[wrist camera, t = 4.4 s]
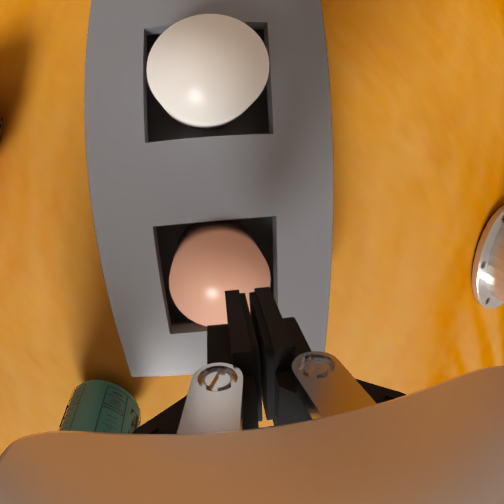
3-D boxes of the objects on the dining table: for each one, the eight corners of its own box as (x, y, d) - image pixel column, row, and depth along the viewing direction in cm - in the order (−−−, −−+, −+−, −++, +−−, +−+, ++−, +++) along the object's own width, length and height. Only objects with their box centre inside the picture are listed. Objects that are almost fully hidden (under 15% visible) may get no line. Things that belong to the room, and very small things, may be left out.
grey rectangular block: (289, 22, 17) (318, -15, 11) (297, 311, 24) (324, 355, 18) (117, 31, 15) (92, -5, 10) (144, 327, 22) (131, 377, 17)
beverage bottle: (65, 371, 22) (-1, 563, 4) (125, 360, 23) (84, 596, 4) (99, 418, 25) (70, 594, 6) (156, 411, 25) (153, 611, 6)
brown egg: (255, 213, 18) (269, 229, 15) (258, 290, 20) (271, 321, 16) (170, 221, 18) (162, 239, 14) (180, 298, 19) (177, 331, 15)
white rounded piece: (251, 42, 14) (266, 13, 10) (255, 127, 15) (272, 118, 12) (158, 48, 13) (147, 19, 9) (160, 134, 15) (147, 127, 11)
